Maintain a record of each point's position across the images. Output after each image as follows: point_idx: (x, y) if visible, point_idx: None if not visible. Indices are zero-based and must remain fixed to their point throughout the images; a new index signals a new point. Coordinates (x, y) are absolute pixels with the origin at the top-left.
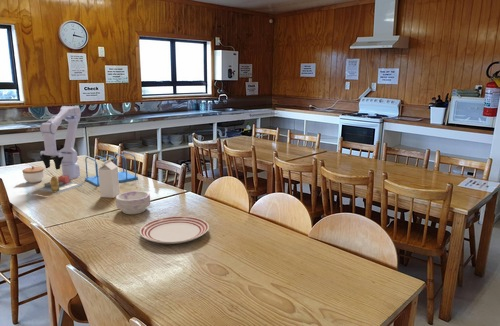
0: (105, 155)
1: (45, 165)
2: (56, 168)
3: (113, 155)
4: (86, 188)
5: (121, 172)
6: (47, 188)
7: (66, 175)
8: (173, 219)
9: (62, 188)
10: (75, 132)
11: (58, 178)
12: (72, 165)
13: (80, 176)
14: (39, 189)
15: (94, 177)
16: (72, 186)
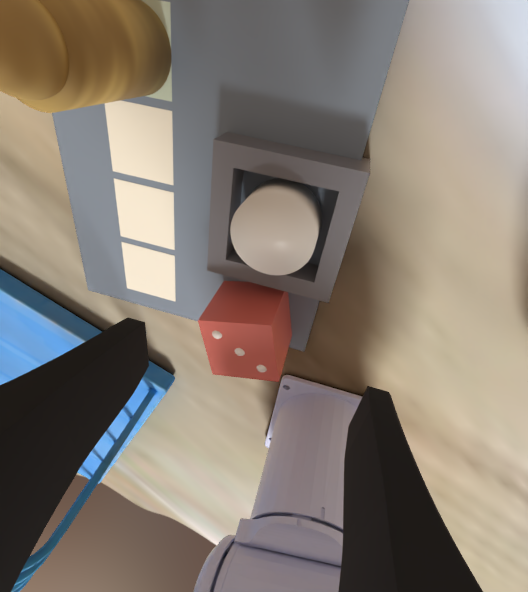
0: None
1: (386, 429)
2: (113, 326)
3: (19, 587)
4: (17, 222)
5: (91, 469)
6: (285, 102)
7: (234, 373)
8: None
9: (137, 148)
10: None
11: (274, 314)
12: (250, 518)
13: (265, 441)
14: (359, 21)
15: None
16: (114, 227)
